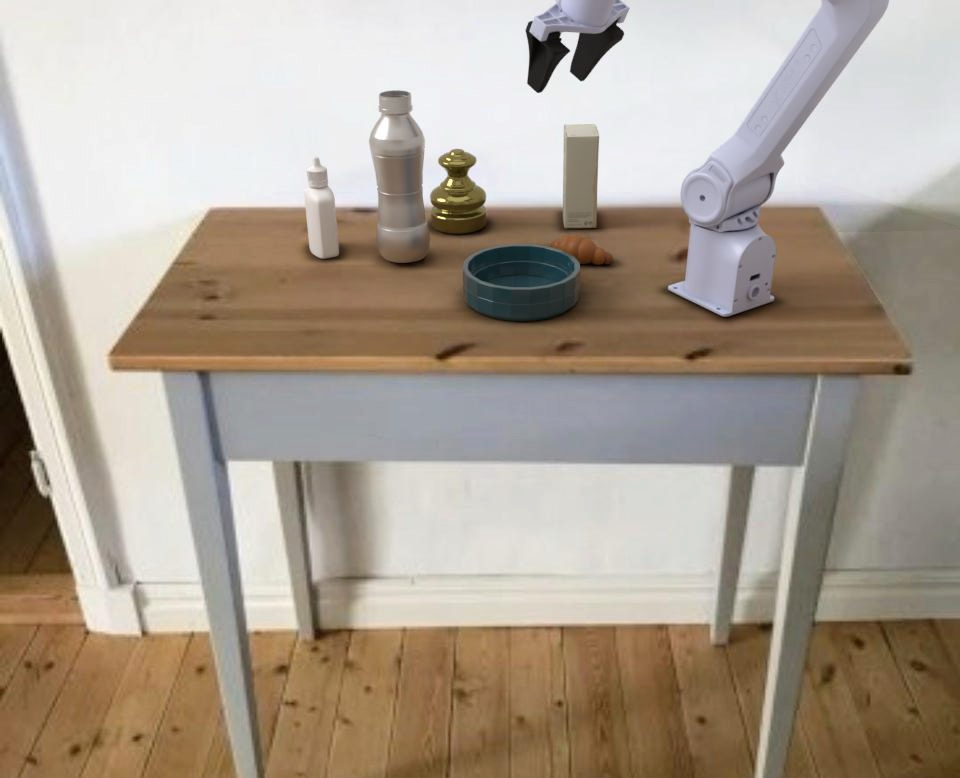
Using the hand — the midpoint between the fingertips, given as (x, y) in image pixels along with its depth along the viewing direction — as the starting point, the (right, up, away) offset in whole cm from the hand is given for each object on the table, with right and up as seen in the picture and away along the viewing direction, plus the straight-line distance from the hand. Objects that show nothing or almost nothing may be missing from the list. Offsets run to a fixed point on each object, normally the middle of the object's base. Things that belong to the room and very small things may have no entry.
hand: (555, 81), depth 128 cm
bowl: (-4, -27, -5) cm, 28 cm away
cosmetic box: (+4, -13, +16) cm, 21 cm away
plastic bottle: (-19, -20, +5) cm, 28 cm away
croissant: (+3, -21, +4) cm, 21 cm away
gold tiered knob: (-12, -14, +15) cm, 24 cm away
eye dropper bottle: (-29, -19, +8) cm, 35 cm away
